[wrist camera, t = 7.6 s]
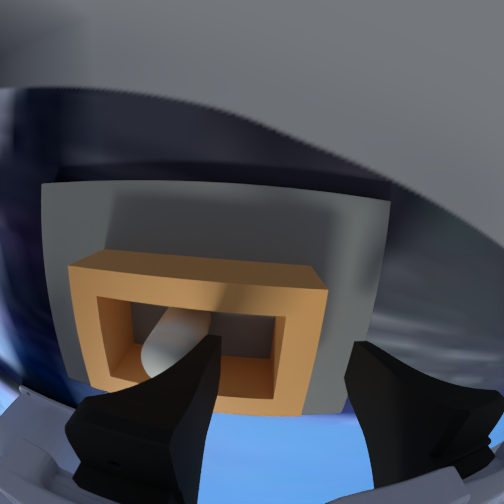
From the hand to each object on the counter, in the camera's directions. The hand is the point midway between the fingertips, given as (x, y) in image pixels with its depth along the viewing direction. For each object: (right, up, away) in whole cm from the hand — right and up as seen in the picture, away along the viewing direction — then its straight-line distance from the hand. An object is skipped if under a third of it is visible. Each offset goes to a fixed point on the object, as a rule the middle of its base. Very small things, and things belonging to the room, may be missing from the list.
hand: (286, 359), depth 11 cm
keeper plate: (-5, +1, +4) cm, 7 cm away
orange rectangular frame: (-4, +1, +3) cm, 5 cm away
